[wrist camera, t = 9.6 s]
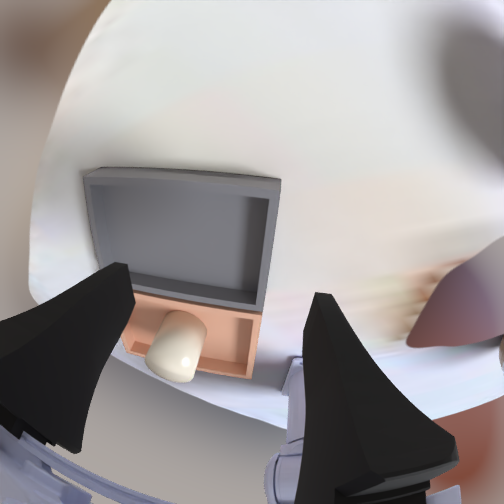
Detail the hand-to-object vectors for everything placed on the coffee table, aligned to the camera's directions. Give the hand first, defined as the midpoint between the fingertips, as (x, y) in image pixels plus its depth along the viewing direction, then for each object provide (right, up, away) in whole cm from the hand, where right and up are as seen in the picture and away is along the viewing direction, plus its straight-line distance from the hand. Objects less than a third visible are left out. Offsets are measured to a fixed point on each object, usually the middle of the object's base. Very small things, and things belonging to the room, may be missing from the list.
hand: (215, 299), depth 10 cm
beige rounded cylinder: (-5, -5, +15) cm, 17 cm away
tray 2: (-5, -5, +16) cm, 17 cm away
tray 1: (-4, +3, +11) cm, 12 cm away
